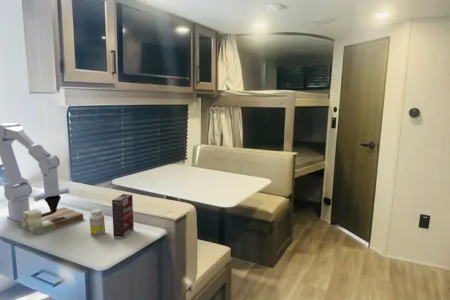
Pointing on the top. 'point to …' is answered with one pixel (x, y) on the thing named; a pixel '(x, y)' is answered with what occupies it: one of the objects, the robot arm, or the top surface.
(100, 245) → the top surface
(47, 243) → the top surface
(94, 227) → the supplement bottle
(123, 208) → the supplement box
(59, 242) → the top surface
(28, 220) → the cream block
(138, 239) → the top surface
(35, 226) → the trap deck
